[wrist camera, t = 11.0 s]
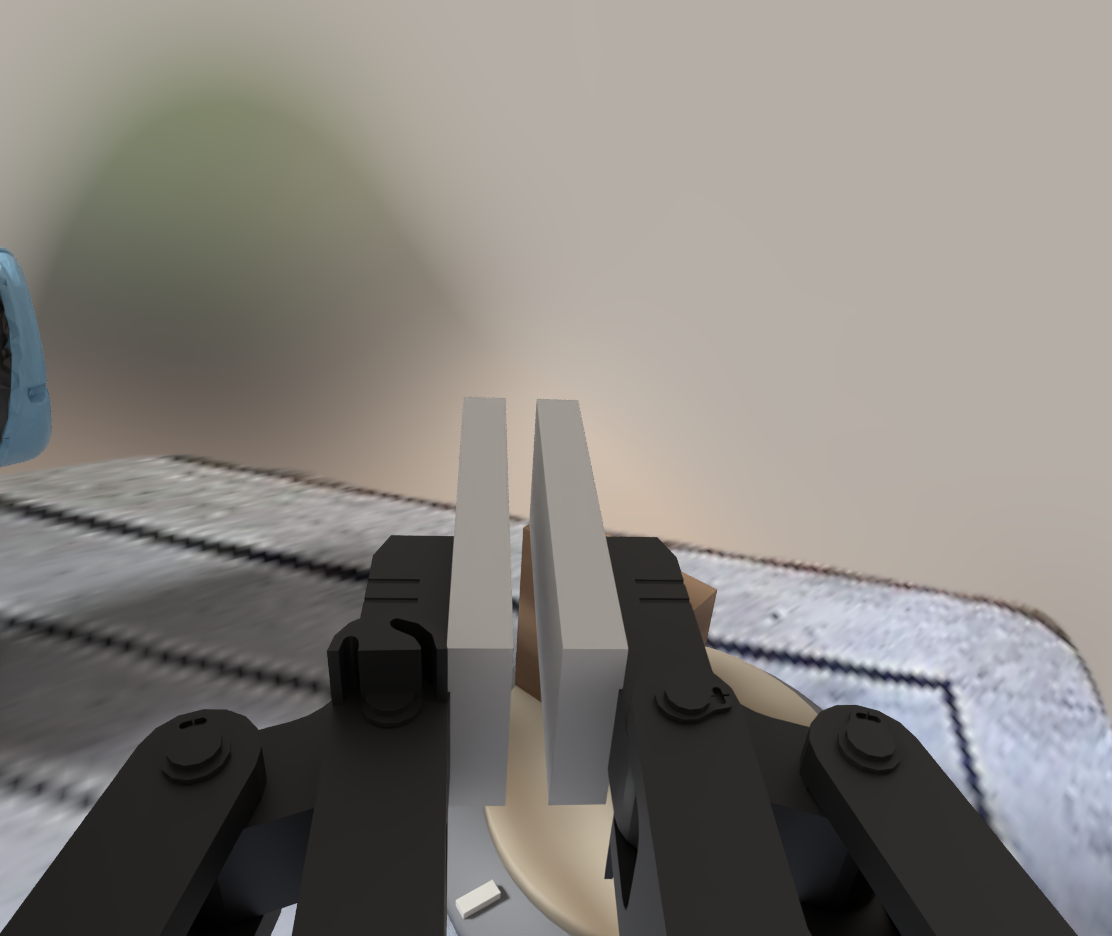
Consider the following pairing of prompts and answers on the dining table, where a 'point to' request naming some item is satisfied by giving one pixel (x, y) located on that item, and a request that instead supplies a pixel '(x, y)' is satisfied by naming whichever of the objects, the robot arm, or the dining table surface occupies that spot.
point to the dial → (584, 830)
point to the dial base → (493, 878)
